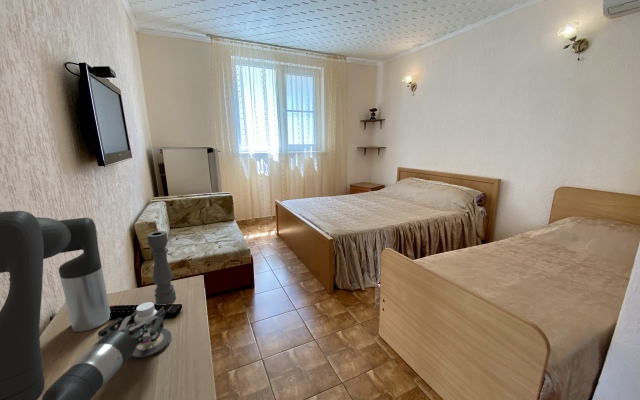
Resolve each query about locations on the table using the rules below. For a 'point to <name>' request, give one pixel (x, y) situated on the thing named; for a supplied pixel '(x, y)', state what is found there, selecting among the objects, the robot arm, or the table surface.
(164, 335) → the small round plate
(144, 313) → the pill bottle
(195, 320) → the table surface
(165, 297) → the candle holder
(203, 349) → the table surface
